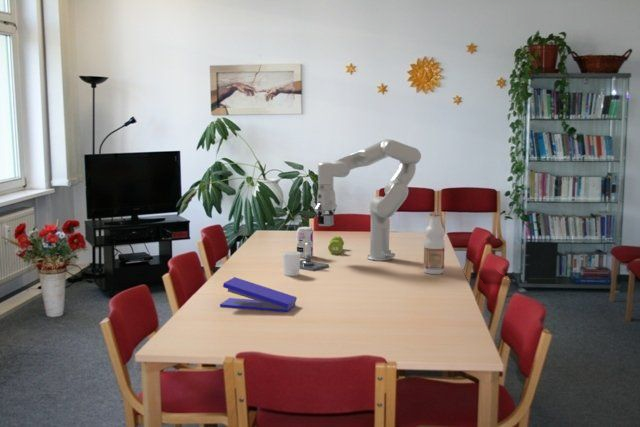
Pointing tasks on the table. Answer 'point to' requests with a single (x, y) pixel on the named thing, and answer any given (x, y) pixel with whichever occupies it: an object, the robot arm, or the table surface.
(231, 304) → the stapler
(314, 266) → the shaft stand
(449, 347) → the table surface
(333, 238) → the dumbbell
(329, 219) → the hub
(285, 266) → the white cup
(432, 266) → the fruit juice
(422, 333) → the table surface
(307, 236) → the supplement can
